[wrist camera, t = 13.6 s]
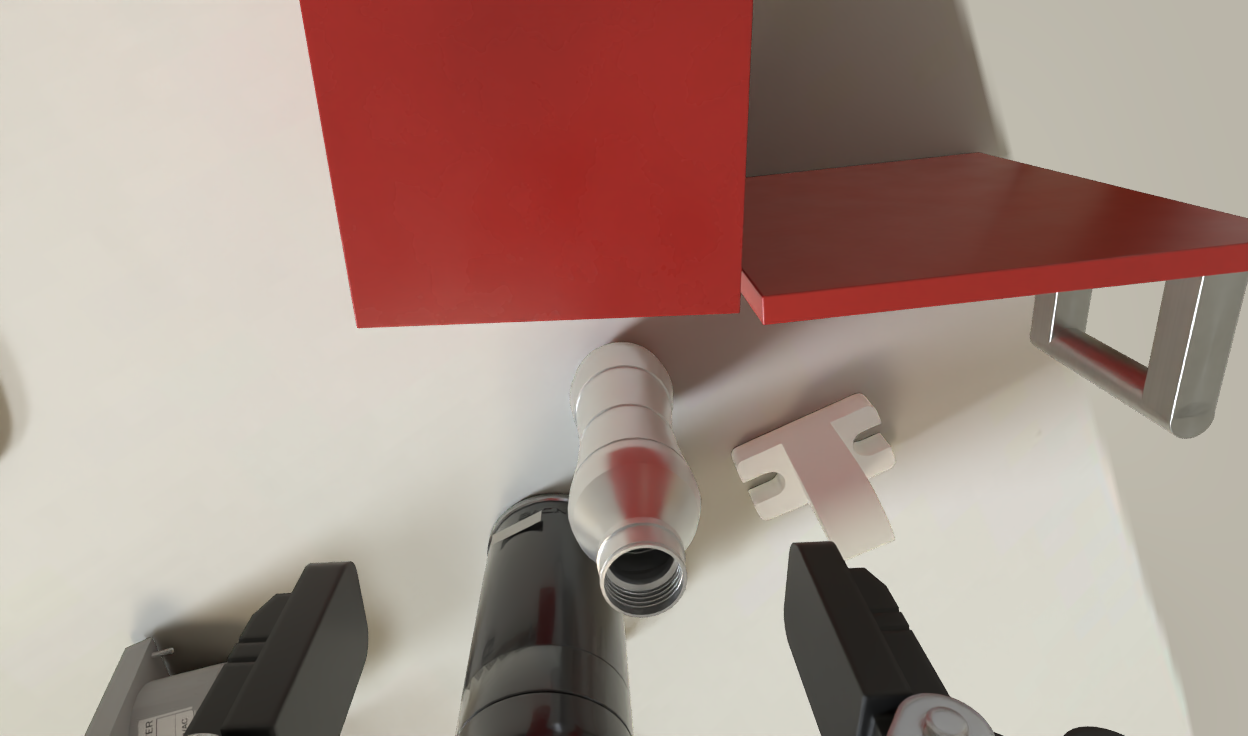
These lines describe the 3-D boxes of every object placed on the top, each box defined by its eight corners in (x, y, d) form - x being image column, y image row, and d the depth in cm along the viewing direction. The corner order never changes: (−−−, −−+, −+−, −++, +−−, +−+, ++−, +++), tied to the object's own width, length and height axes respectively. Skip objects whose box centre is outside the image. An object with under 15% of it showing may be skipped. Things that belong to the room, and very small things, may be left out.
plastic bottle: (673, 334, 47) (733, 513, 29) (663, 427, 50) (712, 647, 31) (572, 329, 46) (567, 508, 28) (567, 424, 49) (560, 644, 31)
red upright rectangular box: (665, -175, 36) (773, -461, 16) (665, 193, 43) (740, 313, 23) (420, -173, 36) (216, -465, 16) (461, 199, 43) (356, 328, 23)
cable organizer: (886, 450, 51) (954, 537, 42) (756, 507, 53) (794, 603, 43) (862, 390, 49) (927, 466, 40) (728, 450, 51) (761, 538, 41)
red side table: (968, 271, 46) (1262, 435, 26) (685, 302, 46) (766, 491, 26) (979, 152, 43) (1319, 234, 23) (677, 184, 43) (762, 296, 23)
